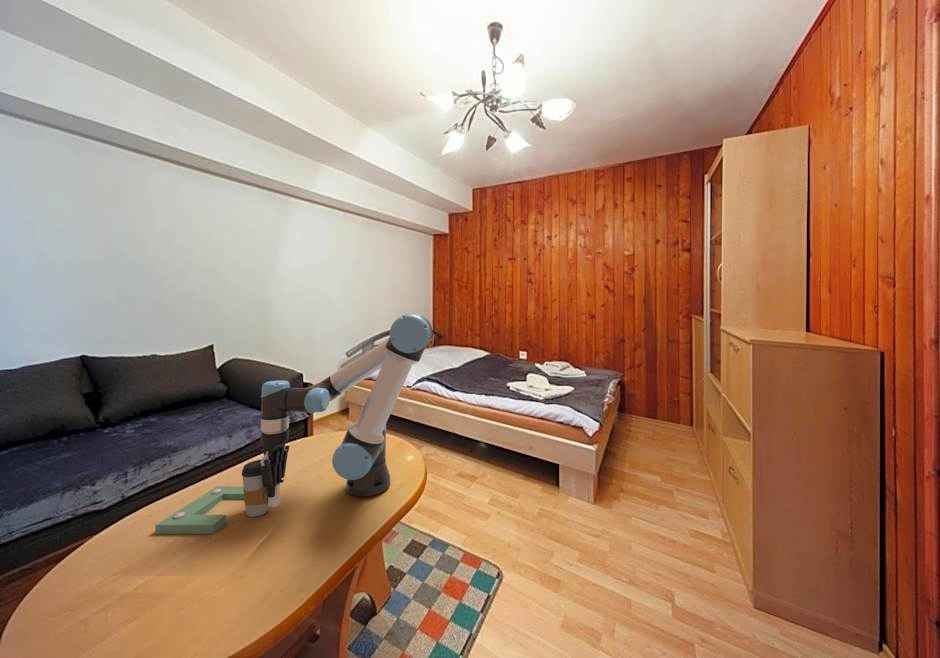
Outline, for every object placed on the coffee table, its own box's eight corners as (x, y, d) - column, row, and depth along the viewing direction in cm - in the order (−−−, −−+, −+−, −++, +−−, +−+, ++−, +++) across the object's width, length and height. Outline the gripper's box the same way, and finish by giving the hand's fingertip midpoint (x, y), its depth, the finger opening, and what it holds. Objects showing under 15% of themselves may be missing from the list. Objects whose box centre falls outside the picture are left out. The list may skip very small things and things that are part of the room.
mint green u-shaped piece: (262, 493, 112) (262, 484, 112) (212, 534, 90) (212, 523, 90) (216, 493, 112) (216, 484, 112) (155, 533, 90) (155, 522, 90)
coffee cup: (258, 520, 96) (257, 470, 96) (235, 517, 98) (234, 468, 98) (280, 505, 104) (279, 459, 104) (258, 503, 106) (257, 457, 106)
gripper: (275, 424, 108) (274, 494, 108) (248, 437, 95) (247, 517, 95) (297, 424, 108) (296, 494, 108) (274, 437, 95) (273, 517, 95)
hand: (273, 505), depth 101 cm, fingers closed, pressing on coffee cup
